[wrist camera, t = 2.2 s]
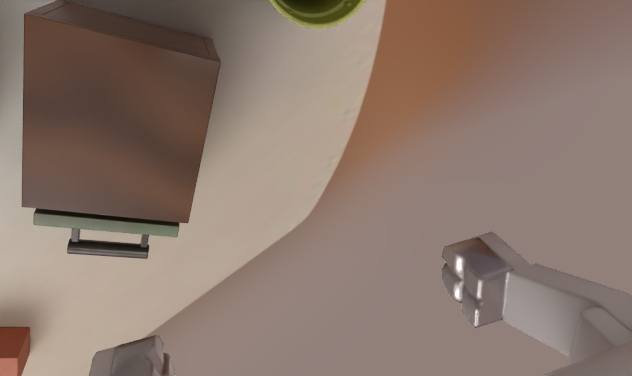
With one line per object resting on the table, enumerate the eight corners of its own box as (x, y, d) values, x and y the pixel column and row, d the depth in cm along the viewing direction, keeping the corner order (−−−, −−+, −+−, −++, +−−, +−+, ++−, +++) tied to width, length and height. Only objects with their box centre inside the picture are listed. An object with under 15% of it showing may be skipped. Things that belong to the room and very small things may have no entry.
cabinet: (186, 175, 45) (188, 223, 37) (52, 156, 41) (21, 207, 33) (212, 39, 40) (221, 61, 31) (59, -2, 35) (23, 13, 27)
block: (-15, 354, 49) (-31, 387, 45) (-16, 326, 47) (-32, 358, 44) (29, 354, 51) (17, 385, 47) (30, 327, 49) (17, 357, 45)
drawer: (170, 232, 47) (169, 277, 41) (54, 221, 43) (31, 270, 36) (200, 74, 40) (204, 98, 33) (63, 42, 36) (37, 63, 29)
